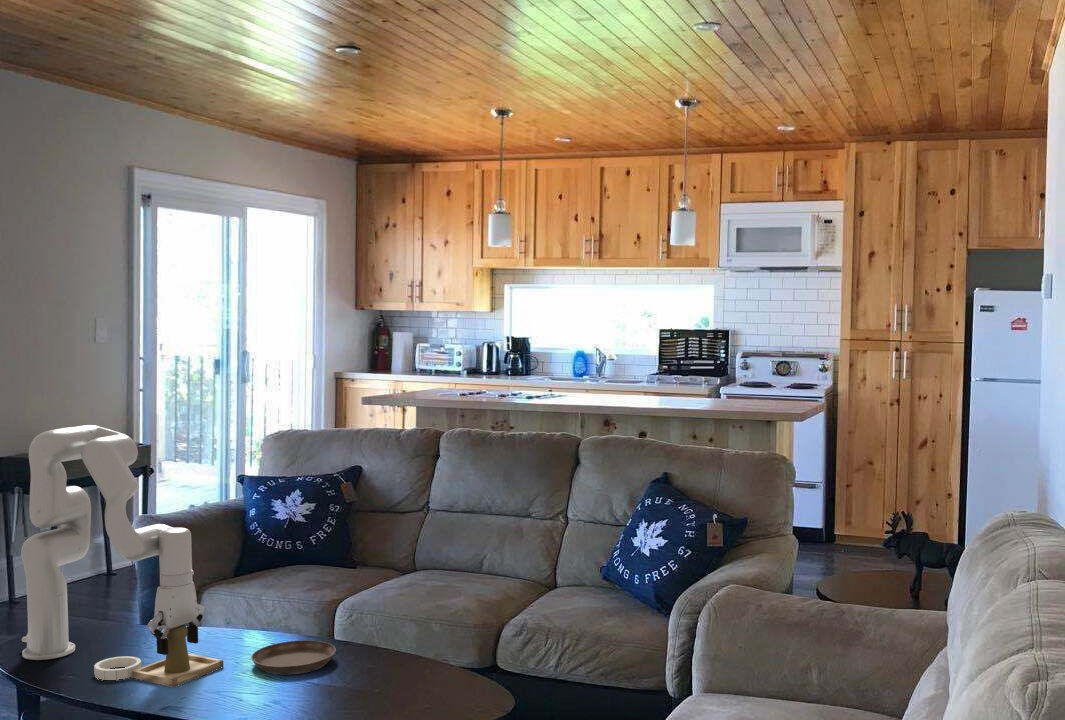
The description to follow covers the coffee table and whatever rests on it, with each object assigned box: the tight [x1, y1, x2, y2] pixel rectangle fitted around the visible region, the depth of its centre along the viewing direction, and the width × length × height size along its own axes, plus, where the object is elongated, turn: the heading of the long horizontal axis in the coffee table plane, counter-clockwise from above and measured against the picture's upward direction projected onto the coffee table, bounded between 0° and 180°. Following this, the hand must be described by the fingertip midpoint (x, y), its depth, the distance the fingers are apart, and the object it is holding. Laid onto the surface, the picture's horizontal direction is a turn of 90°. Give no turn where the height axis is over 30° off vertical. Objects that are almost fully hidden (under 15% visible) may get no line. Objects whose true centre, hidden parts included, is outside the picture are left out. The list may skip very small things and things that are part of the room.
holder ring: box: [93, 655, 143, 681], centre depth 266 cm, size 10×10×2 cm
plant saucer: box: [251, 639, 337, 676], centre depth 272 cm, size 21×21×3 cm
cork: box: [164, 624, 190, 673], centre depth 266 cm, size 6×6×11 cm
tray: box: [131, 652, 224, 688], centre depth 266 cm, size 14×16×2 cm
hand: (177, 648), depth 266 cm, fingers open, 9 cm apart
